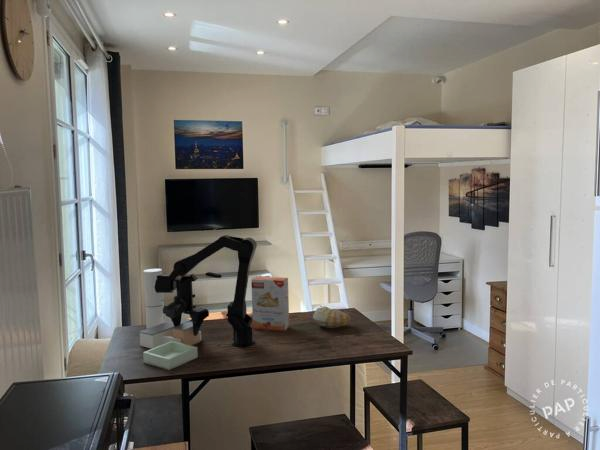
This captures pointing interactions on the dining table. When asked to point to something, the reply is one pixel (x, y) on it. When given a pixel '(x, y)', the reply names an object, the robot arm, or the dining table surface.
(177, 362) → the tray
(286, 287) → the cracker box
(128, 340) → the dining table surface
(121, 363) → the dining table surface
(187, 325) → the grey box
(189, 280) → the robot arm
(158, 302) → the cylindrical container
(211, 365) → the dining table surface
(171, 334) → the grey forked piece
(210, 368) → the dining table surface
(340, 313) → the nautilus
